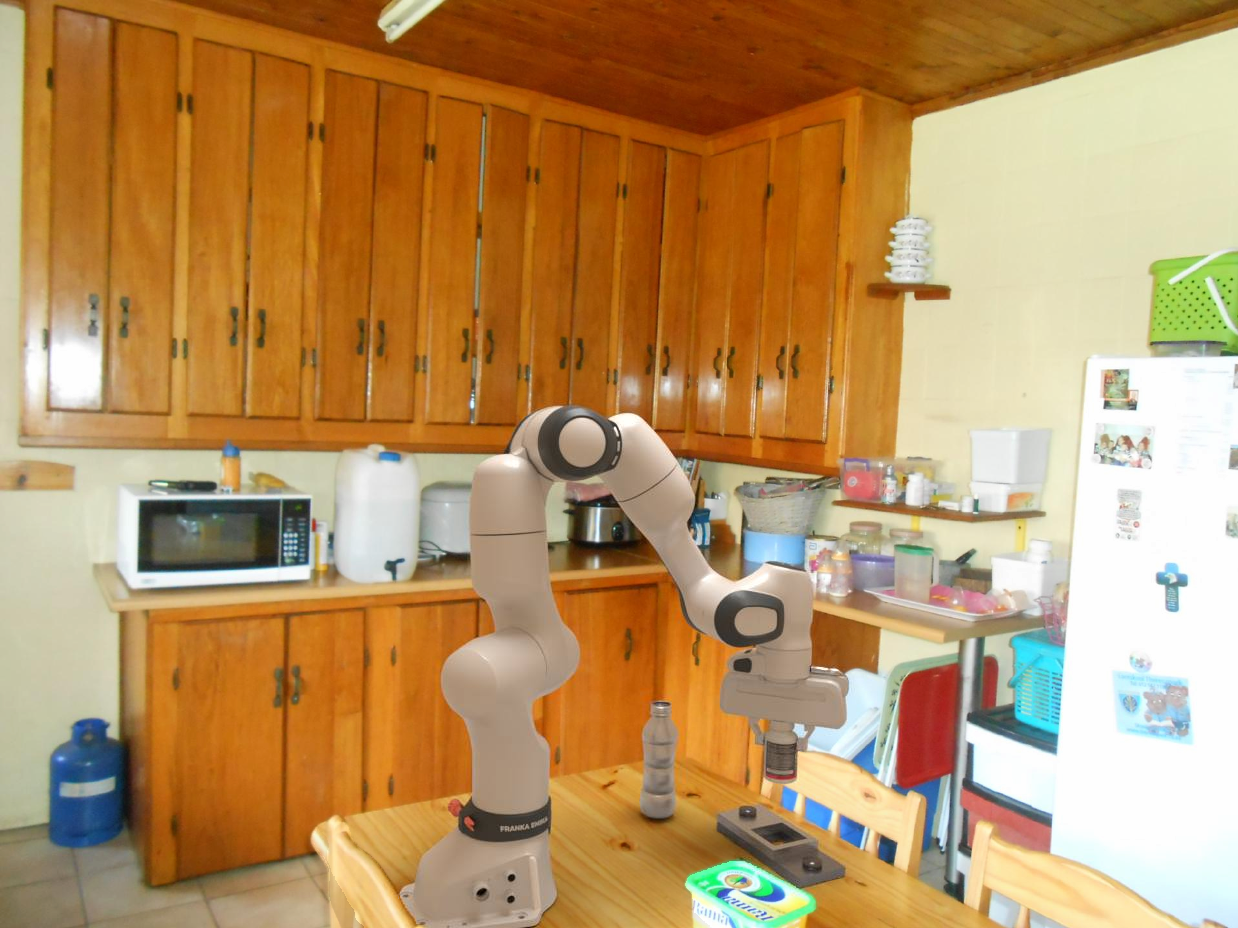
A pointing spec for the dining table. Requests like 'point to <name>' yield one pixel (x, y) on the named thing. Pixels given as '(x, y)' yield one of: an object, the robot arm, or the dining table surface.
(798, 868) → the bottle holder plate
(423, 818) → the dining table surface
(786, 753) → the pill bottle
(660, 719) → the plastic bottle
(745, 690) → the robot arm
